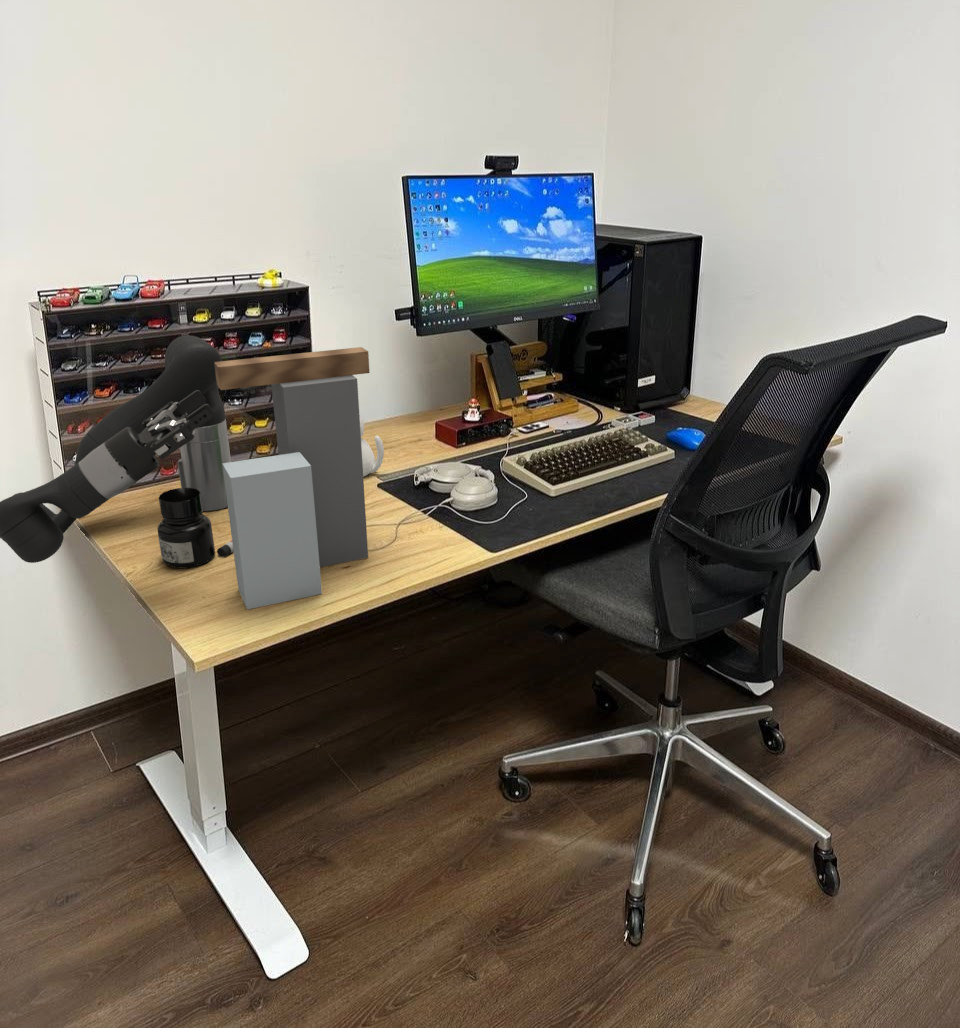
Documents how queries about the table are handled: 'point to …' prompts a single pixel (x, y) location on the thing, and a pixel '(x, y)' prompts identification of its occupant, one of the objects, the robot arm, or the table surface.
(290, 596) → the blue-grey step
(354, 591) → the table surface
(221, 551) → the marker
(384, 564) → the table surface
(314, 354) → the walnut bar
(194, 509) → the ink bottle
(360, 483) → the charcoal stand
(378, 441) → the cat figurine
